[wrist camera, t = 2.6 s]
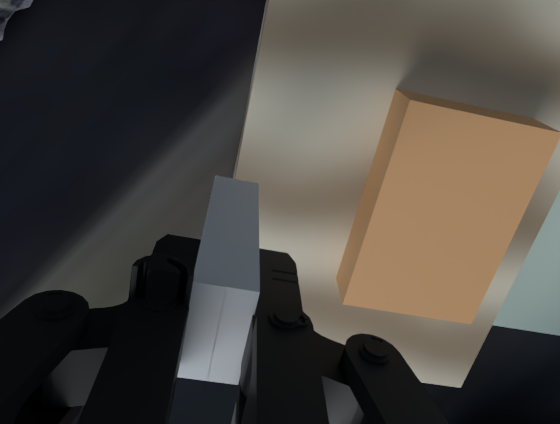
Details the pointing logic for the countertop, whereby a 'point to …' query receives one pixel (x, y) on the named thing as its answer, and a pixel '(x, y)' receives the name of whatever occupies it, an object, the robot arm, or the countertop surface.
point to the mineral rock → (10, 11)
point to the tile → (441, 206)
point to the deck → (366, 134)
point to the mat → (537, 283)
